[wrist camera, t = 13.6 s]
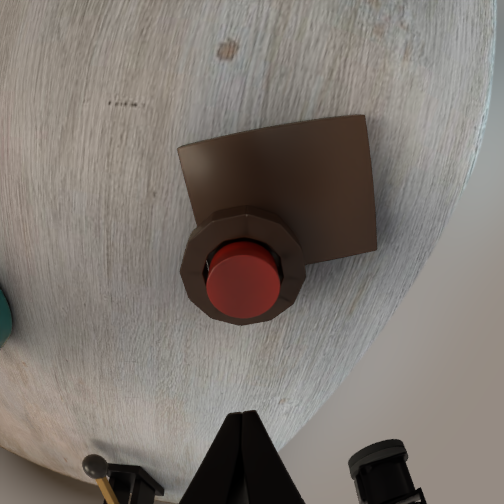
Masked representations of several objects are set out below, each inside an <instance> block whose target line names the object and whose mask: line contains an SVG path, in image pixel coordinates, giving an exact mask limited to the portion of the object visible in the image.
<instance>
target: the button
mask: <svg viewBox="0 0 504 504" xmlns="http://www.w3.org/2000/svg"><path fill="white" fill-rule="evenodd" d="M206 288H207V294H208V297H209V299H210V301H211V302H212V304H213V305H214V306H215V307H216V308H217V309H218V310H219V311H220V312H222V313H224V314H226V315H228V316H231V317H235V318H252V317H256V316H259V315H261V314H263V313H265V312H266V311H268V310H269V309H270V308H271V307H272V306H273V305H274V303H275V302H276V300H277V298H278V296H279V293H280V279H279V275H278V270H277V266H276V262H275V260H274V258H273V256H272V255H271V254H270V252H269V251H268V250H267V249H265V248H264V247H262V246H261V245H259V244H256V243H253V242H247V241H239V242H234V243H230V244H228V245H226V246H224V247H223V248H221V249H220V250H219V251H218V252H217V253H216V254H215V255H214V257H213V259H212V261H211V263H210V268H209V273H208V278H207V285H206Z"/></svg>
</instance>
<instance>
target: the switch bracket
mask: <svg viewBox="0 0 504 504" xmlns="http://www.w3.org/2000/svg"><path fill="white" fill-rule="evenodd" d="M108 466H109V472H108V474H107V476H108V477H110V478H109V484H110V486H111V488H112V490H113V492H114V494H115V496H116V498H117V500H118V502H119V504H128V501H129V496H130V493H132V497H131V502H130V504H153V503H154V497H155V495H157V496H164V489H163V488H162V487H161V486H160V485H159V484H158V483H157V482H156V481H155V480H154V479H153V478H152V477H150V476H149V475H148V474H147V473H146V472H145V471H144V470H143V469H142V468H141V467H140V466H129V465H118V464H108ZM104 504H108V503H107V501H106V499H104Z"/></svg>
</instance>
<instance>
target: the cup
mask: <svg viewBox="0 0 504 504" xmlns="http://www.w3.org/2000/svg"><path fill="white" fill-rule="evenodd" d="M11 332H12V316H11V312H10V308H9V305H8V303H7V300H6V298H5V296H4V294H3V292H2V290H1V289H0V350H1V348H2V347H3V346H4V344H5V343H6V342H7V340H8V339H9V337H10V335H11Z"/></svg>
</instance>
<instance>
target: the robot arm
mask: <svg viewBox="0 0 504 504" xmlns="http://www.w3.org/2000/svg"><path fill="white" fill-rule="evenodd" d="M406 456H407V453H406V452H402V453H399V454H396V455H393V456H390V457H387V458H383V459H380V460H377V461H374V462H370V463H367V464H363V465H360V466H359V467H358V473H357V475H356V476H355V480H354V483H355V487H356V492H357V496H358V500H359V504H427V503H426V500H425V498H424V495H423V492H422V489H421V487H420V488H418V489H417V490H415V487H414V484H413V482H412V479H411V476H410V473H409V470H408V468H407V465H406V462H405V458H406ZM420 499H421V502H416V501H418V500H420ZM179 504H305V502H304V500H303V499H302V498H301V495H300V494H299V492H298V490H297V488H296V486H295V485H294V483H293V481H292V479H291V477H290V475H289V473H288V472H287V470H286V468H285V466H284V464H283V462H282V460H281V458H280V456H279V455H278V453H277V451H276V449H275V447H274V445H273V443H272V441H271V439H270V437H269V435H268V433H267V431H266V429H265V427H264V425H263V423H262V421H261V419H260V417H259V415H258V413H257V411H256V410H250V411H244V412H243V413H242V412H234V413H229V414H228V415H227V416H226V418H225V420H224V422H223V424H222V426H221V428H220V430H219V431H218V433H217V435H216V437H215V439H214V441H213V443H212V445H211V447H210V448H209V450H208V452H207V454H206V456H205V458H204V460H203V461H202V463H201V465H200V467H199V469H198V470H197V472H196V474H195V476H194V478H193V479H192V481H191V483H190V485H189V487H188V488H187V490H186V492H185V494H184V495H183V497H182V499H181V501H180V502H179Z"/></svg>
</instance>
